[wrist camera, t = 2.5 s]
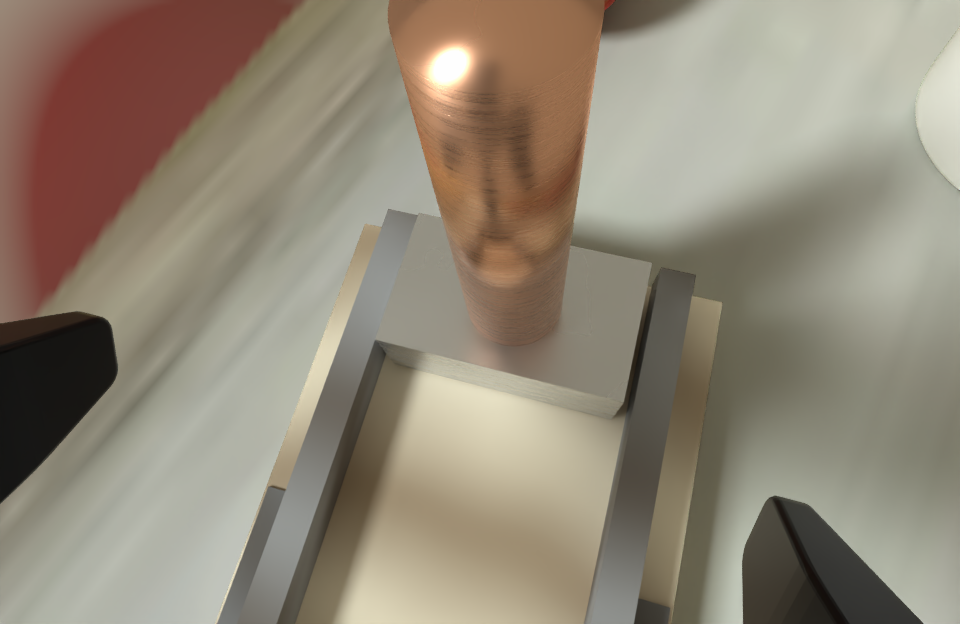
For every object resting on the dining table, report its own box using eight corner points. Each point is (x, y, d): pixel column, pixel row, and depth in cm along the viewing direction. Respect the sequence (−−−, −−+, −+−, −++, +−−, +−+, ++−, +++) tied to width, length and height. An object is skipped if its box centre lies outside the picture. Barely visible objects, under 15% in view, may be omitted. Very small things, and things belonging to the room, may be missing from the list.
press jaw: (611, 419, 18) (768, 203, 6) (394, 364, 19) (174, 89, 7) (636, 297, 19) (807, -80, 7) (432, 251, 20) (296, -141, 8)
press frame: (592, 1018, 15) (618, 1213, 11) (158, 837, 17) (32, 941, 12) (708, 318, 20) (755, 262, 16) (375, 243, 22) (339, 175, 18)
